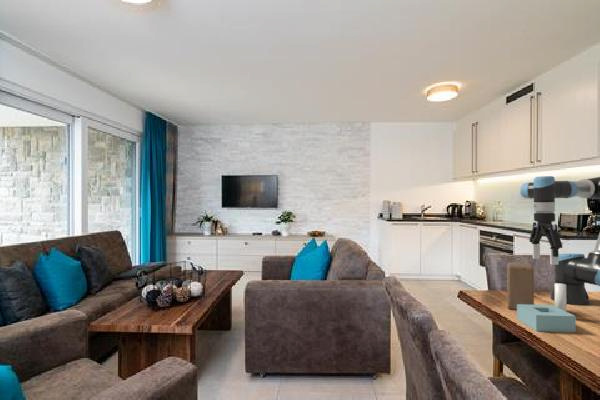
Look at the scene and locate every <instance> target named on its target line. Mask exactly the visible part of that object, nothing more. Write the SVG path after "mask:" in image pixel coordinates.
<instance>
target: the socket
mask: <svg viewBox="0 0 600 400" xmlns="http://www.w3.org/2000/svg"><path fill="white" fill-rule="evenodd" d="M516 320H518V321H519V322H521V323H523V324H525V325H526V326H528V327H529V328H531V329H532V330H534V331H535V332H555V333H556V332H561V333H576V332H577V331H576V330H577V329H576V327H577V326H576V325H577V324H576V320H577V319H576V316H575V315H574V314H572V313H570V312H567V310H566V311H564V310H562V309H560V308H558V307H555V305H553V304H534V305H526V304H517V310H516Z"/></svg>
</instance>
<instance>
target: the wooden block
mask: <svg viewBox="0 0 600 400" xmlns="http://www.w3.org/2000/svg"><path fill="white" fill-rule="evenodd" d="M506 267H507V268H506V269H507V272H506V273H507V275H506V277H507V278H506V279H507V282H506V283H507V287H506V288H507V308H508V309H509V310H512V311H513V310H515V311H517V304H526V305H535V299H534V298H535V297H534V296H535V293H534V292H535V288H534V287H535V285H534V282H535V280H534V279H535V278H534V276H535V273H534V271H535V270H534V265H533V264H531V263H524V262H523V263H522V262H521V263H520V262H508V264H507V266H506Z"/></svg>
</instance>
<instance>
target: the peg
mask: <svg viewBox="0 0 600 400" xmlns="http://www.w3.org/2000/svg"><path fill="white" fill-rule="evenodd" d="M554 284H555V300H554V306H555V307H558V308H560V309H562V310H564V311H566V312H567V303H566V284H561V283H555V282H554Z"/></svg>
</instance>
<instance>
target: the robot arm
mask: <svg viewBox="0 0 600 400" xmlns="http://www.w3.org/2000/svg"><path fill="white" fill-rule="evenodd" d="M519 192H520V195H521V196H522V197H523V198H525V199H533V205H532V207H533V211H534V213H533V221H534V222H532V229H531V232H530V235H529V236H530V237H529V243H531V244H532V259H533V260H540V259H541V243H540V242H541V240H542V237H543V235H544V236H545V237H546V238H547V239H546V240H547V241H548V243H549V245H550V247H549V255H550V257H549V259H550V261H549V262H550V265H554V285H553V287H552V290H551V293H550V299H551V300H552V301H555V283H561V284H566V305H567V304H568V305H577V306H584V305H590V297H589V294H588V292H587V289H586V286H585V284H589V285H594V286H597V287H600V232H599V234H598V236H597V240H596V243H595V246H594V250H592V251H589V252H588V254H587V257H585V254H584V253H559V250H560V249H562V248H563V244H562V240H561V237H560V234H559V230H558V225H557V224H553V222H555V221H556V213H555V211H556V199H570V198H574V197H575V198H576V197H578V198H582V199H593V200H600V176H597V177H593V178H592V177H590V178H582V179H579V180H578V181H577V180H573V181H572V180H556V178H555V177H554V176H551V175H550V176H549V175H548V176H544V175H543V176H535V177H534V179H533V182H525V183H523V184H522V185H521V186H520V191H519Z"/></svg>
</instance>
